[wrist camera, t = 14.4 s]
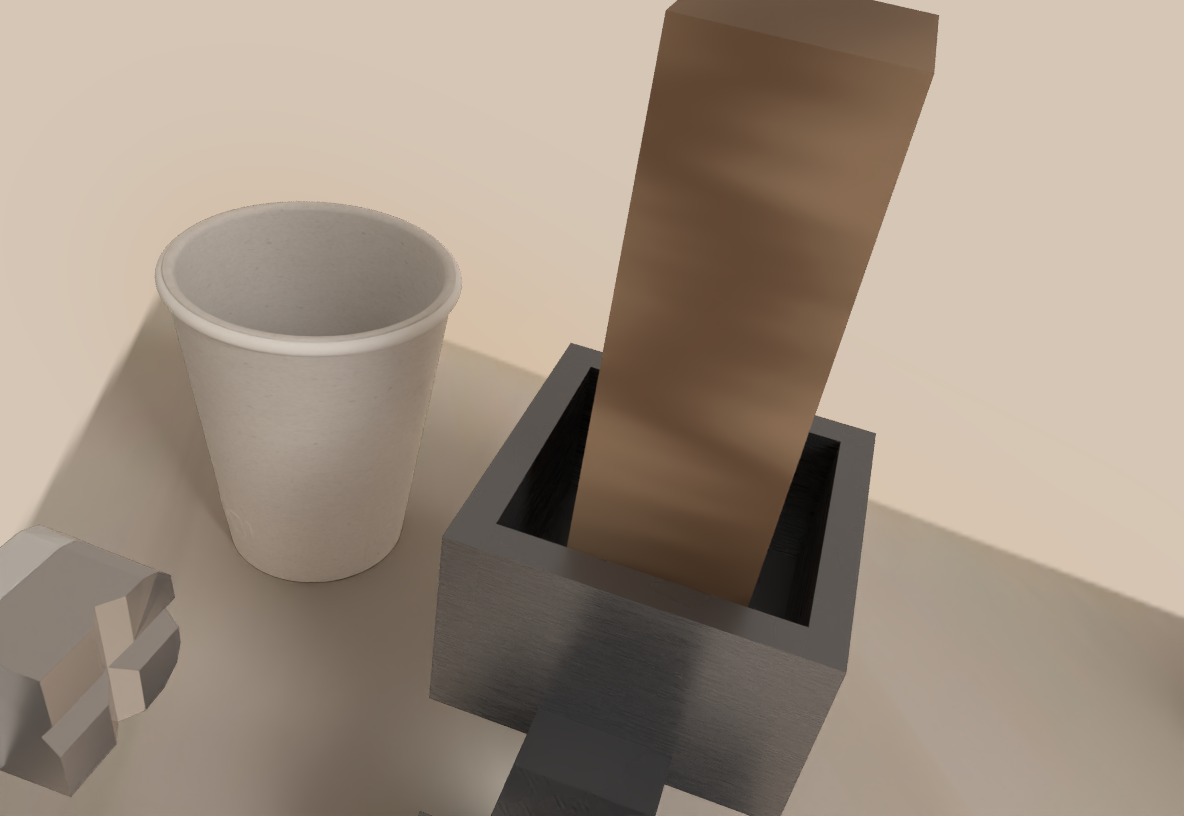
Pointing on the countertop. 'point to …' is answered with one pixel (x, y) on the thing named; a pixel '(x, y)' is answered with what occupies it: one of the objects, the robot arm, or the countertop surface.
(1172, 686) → the countertop surface
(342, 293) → the dixie cup
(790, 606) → the box
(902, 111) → the rail post
